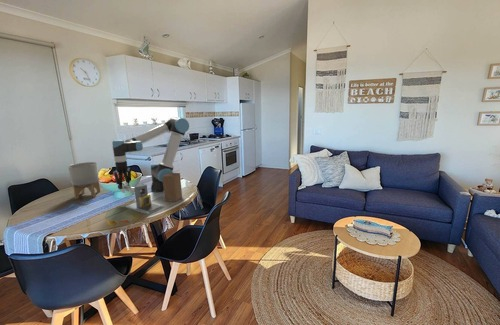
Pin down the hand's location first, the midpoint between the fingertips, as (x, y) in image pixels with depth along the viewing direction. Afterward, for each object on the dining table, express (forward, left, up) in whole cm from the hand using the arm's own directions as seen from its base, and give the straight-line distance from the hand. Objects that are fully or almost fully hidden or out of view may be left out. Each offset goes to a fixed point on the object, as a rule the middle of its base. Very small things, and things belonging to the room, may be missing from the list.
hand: (125, 191), depth 181 cm
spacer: (+11, +19, -7) cm, 23 cm away
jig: (+10, +18, -9) cm, 23 cm away
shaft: (+4, +6, +1) cm, 7 cm away
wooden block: (-5, +34, -9) cm, 36 cm away
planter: (-18, -41, -9) cm, 45 cm away
